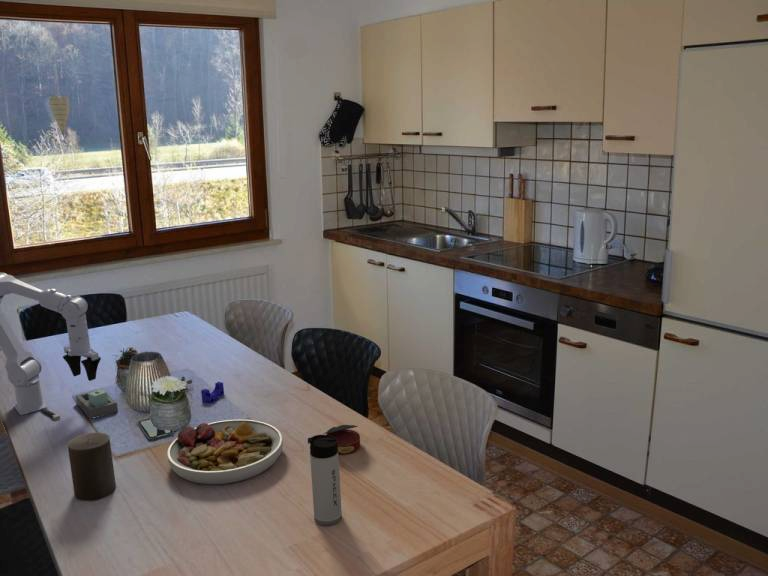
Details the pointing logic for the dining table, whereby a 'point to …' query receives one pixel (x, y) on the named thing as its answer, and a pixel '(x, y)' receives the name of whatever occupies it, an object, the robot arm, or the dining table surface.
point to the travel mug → (325, 479)
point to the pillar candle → (91, 466)
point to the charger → (98, 398)
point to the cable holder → (214, 395)
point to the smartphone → (153, 430)
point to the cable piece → (51, 414)
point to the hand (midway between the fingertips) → (84, 377)
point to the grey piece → (99, 410)
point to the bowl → (224, 451)
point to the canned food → (345, 439)
